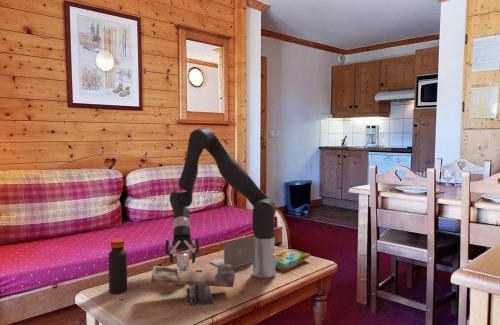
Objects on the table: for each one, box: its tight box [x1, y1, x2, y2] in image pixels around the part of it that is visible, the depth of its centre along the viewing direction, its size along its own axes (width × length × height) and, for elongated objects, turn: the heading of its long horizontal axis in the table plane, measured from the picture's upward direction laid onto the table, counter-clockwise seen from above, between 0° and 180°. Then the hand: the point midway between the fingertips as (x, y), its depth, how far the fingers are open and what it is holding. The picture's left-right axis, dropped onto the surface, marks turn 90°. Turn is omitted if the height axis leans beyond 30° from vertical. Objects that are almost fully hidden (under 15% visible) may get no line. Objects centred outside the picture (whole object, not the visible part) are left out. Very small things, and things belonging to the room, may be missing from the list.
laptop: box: [209, 235, 254, 269], centre depth 180 cm, size 18×12×13 cm
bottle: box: [107, 238, 128, 295], centre depth 146 cm, size 7×7×20 cm
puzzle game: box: [274, 248, 311, 272], centre depth 180 cm, size 12×5×20 cm
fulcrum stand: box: [188, 269, 214, 307], centre depth 143 cm, size 8×16×7 cm, turn 12°
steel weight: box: [176, 251, 190, 286], centre depth 155 cm, size 5×5×12 cm
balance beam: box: [150, 264, 236, 288], centre depth 142 cm, size 30×10×5 cm, turn 102°
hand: (182, 263), depth 156 cm, fingers open, 8 cm apart
